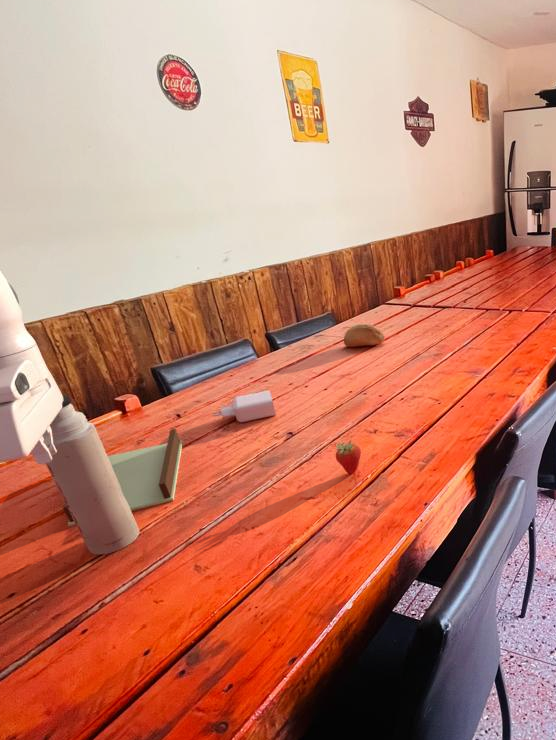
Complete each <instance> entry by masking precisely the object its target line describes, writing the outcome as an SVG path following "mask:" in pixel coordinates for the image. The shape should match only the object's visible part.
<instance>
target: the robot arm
mask: <svg viewBox="0 0 556 740" xmlns="http://www.w3.org/2000/svg"><path fill="white" fill-rule="evenodd" d="M63 396H64V395H63V394H62V392H61V389H60V388H59V386H58V384H57V382H56V380H55V378H54V376H53V375H52V373H51V372H50V370H49V368H48V366H47V364H46V361H45V359H44V357H43V355H42V353H41V351H40V348H39V346H38V344H37V342H36V340H35V339H34V337H33V336H32V335H31V334H30V333H29V331H28V330H27V328H26V326H25V323H24V316H23V312H22V309H21V307H20V300H19V298H18V295H17V293H16V291H15V289H14V287H13V286H12V285H11V284H10V283H9V281H8V280H7V278H6V277H5V276H4V274H3V272H2V271H1V270H0V464H2V463H6V462H12V461H17V460H22V459H25V458H27V457H29V455H30V454H31V455H32V456H33V459H34V460H35V462H36V463H37V464H38V465H44V464H45V463H49V462H51V461H52V459H53V457H54V456H55V454H56V453H57V450H56V448H55V446H54V444H53V437H52V430H51V428H50V426H49V425H50V424H51V423H52V421H53V420H54V418H55V417H56V416H57V414H58V413H59V411H60V410H61V408H62V402H63V400H64V399H63Z"/></svg>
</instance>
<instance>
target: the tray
mask: <svg viewBox="0 0 556 740" xmlns="http://www.w3.org/2000/svg"><path fill="white" fill-rule="evenodd" d="M182 448H183V440H181V439H180V437H179V434H178V431H177V429H176V428H174V429H173V428H172V429H170V430H169V434H168V439H167V442H166V443H163V444H162V443H161V444H158V445H157V444H156V445H152V446H149V447H148V446H147V447H143V448H138V449H133V450H130V451H124V452H120V453H116V454H111V455H107V456H108V459H109V461H110V463H111V466H112V468H113V470H114V473H115V475H116V477H117V480H118V482H119V484H120V487H121V490H122V493H123V495H124V497H125V499H126V501H127V503H128V505H129V507H130V510H131V512H134V511H137V510H141V509H145V508H149V507H153V506H157V505H161V504H166V503H169V502H173V501H175V494H176V487H177V482H178V476H179V475H178V474H179V469H180V463H181V455H182V450H183V449H182ZM62 508H63V511H64V512H65V515H66V517H67V518H68V522H67V527H73V526H76V524H75V522H74V520H73V518H72V516H71V514H70V512H69V510H68V508H67V506H66V504H65V503H64V505H63V507H62Z"/></svg>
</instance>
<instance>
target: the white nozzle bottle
mask: <svg viewBox="0 0 556 740" xmlns="http://www.w3.org/2000/svg"><path fill="white" fill-rule="evenodd" d="M271 394H272V393H271V391H270V390H264V391H259V392H254V393H249V394H245V395H240V396H235V397H234V398H232V405H228V406H223V407H221V408H220V411H215V412H213V413H212V414H213V415H212V416H213V417H218V416H222V419H229V418H233V417H235V418H236V422H239V423H245V422H250V421H255V420H259V419H264V418H269V417H273V416H276V415H277V413H276V409H275V405H274V401H273V398H272V395H271Z"/></svg>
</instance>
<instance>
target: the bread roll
mask: <svg viewBox="0 0 556 740" xmlns="http://www.w3.org/2000/svg"><path fill="white" fill-rule="evenodd" d="M384 341H385V334H384V333H383V332H382V330H381V329H380V328H379V327H377V326H376V325H373V324H370V323H361V324H360V323H359V324H355V325H353V326H351V327H350V328H348V329H347V330H346V332H345V334H344V337H343V343H344V345H345V347H348V348H355V347H364V346H372V345H373V346H375V345H380V344H382V343H383V342H384Z"/></svg>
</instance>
